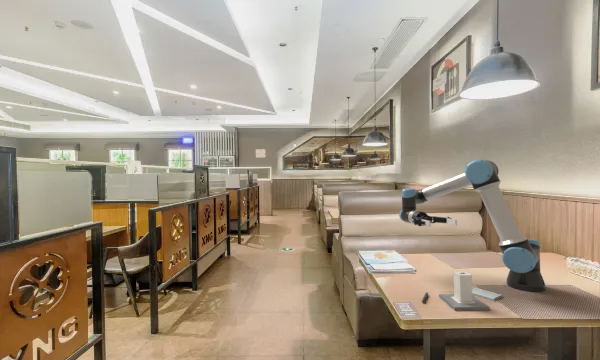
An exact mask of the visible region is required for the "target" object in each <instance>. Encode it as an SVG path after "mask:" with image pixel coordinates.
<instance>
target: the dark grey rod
mask: <svg viewBox="0 0 600 360" xmlns="http://www.w3.org/2000/svg"><path fill="white" fill-rule="evenodd" d="M428 296H429V292H425V293H424V296H423V298H422V300H421V303H422V304H425V302H426V300H427V298H428Z"/></svg>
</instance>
